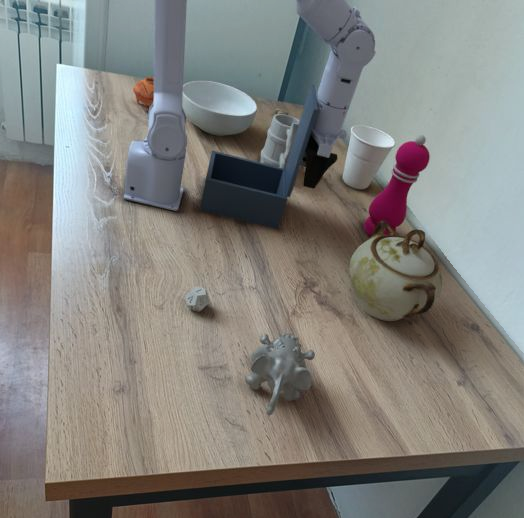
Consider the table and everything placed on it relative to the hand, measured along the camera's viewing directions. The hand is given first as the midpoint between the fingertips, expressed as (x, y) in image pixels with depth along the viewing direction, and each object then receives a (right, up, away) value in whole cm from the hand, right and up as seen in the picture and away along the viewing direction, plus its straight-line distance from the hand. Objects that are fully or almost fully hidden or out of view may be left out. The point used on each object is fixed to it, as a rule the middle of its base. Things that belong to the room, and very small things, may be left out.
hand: (308, 176), depth 98 cm
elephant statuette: (-7, -37, -28) cm, 47 cm away
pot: (-34, +23, +25) cm, 48 cm away
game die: (-18, -25, -19) cm, 37 cm away
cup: (+12, +6, +23) cm, 27 cm away
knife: (0, +19, +32) cm, 37 cm away
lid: (-2, +5, -5) cm, 7 cm away
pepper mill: (+15, -8, +10) cm, 20 cm away
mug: (-5, +7, +18) cm, 20 cm away
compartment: (-12, -4, +4) cm, 14 cm away
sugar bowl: (+11, -24, -8) cm, 28 cm away
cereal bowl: (-19, +19, +25) cm, 37 cm away
